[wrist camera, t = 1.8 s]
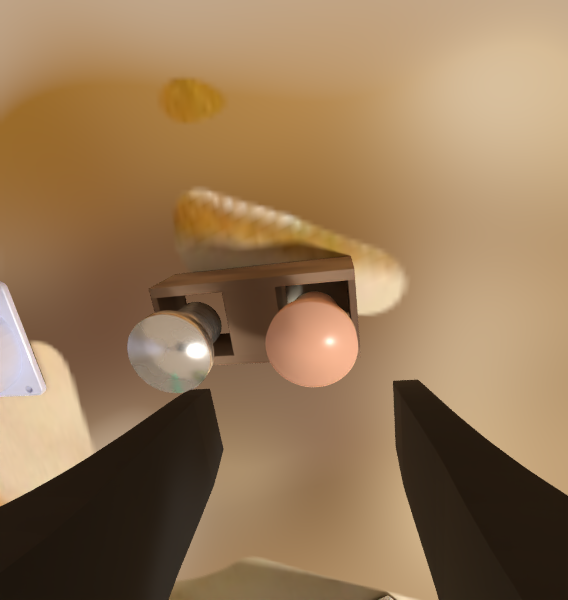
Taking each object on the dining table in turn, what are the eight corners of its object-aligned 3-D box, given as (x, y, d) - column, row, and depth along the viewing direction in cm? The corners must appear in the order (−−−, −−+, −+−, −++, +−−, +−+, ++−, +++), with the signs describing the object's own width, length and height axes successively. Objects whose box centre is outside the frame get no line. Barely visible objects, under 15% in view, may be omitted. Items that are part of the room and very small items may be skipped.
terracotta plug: (283, 350, 17) (272, 388, 14) (273, 282, 16) (258, 306, 13) (355, 346, 17) (361, 385, 13) (349, 275, 16) (354, 298, 12)
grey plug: (174, 357, 18) (139, 394, 15) (158, 293, 17) (117, 318, 14) (238, 353, 18) (217, 391, 14) (225, 287, 17) (199, 311, 13)
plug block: (191, 343, 21) (169, 367, 18) (174, 274, 20) (148, 288, 17) (356, 332, 19) (360, 357, 16) (350, 255, 18) (354, 268, 15)
